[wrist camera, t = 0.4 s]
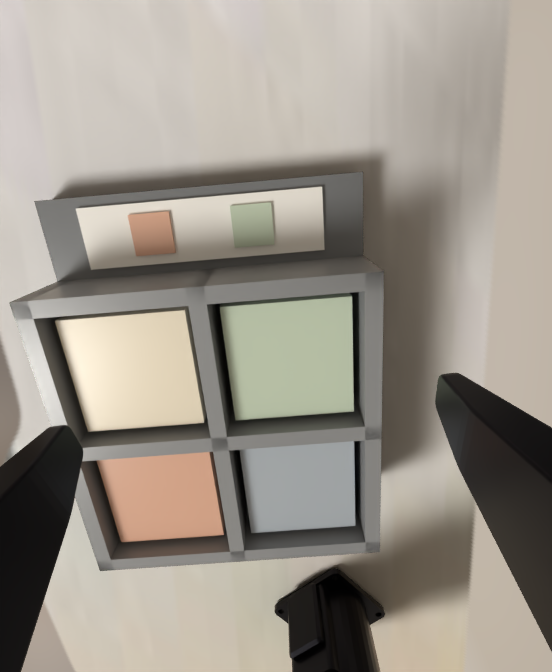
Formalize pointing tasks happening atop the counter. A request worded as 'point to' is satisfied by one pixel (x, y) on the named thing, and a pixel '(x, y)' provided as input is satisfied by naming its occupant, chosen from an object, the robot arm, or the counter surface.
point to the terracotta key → (164, 496)
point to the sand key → (134, 368)
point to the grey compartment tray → (213, 341)
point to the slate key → (300, 486)
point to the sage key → (290, 355)
